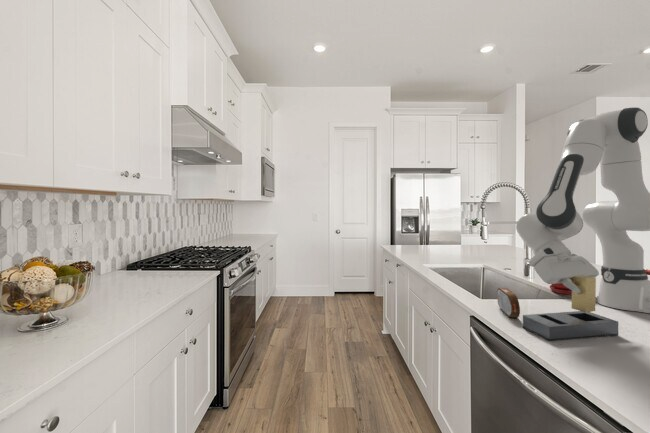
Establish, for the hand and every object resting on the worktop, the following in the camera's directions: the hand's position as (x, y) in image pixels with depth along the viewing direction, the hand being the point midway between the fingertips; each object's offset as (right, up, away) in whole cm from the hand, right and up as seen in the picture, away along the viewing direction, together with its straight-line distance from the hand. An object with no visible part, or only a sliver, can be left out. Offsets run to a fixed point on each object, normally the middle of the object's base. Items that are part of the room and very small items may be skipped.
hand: (585, 292), depth 95 cm
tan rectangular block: (0, -5, +1) cm, 5 cm away
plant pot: (+26, -10, +42) cm, 51 cm away
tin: (-13, -12, +17) cm, 25 cm away
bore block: (-5, -12, 0) cm, 13 cm away
